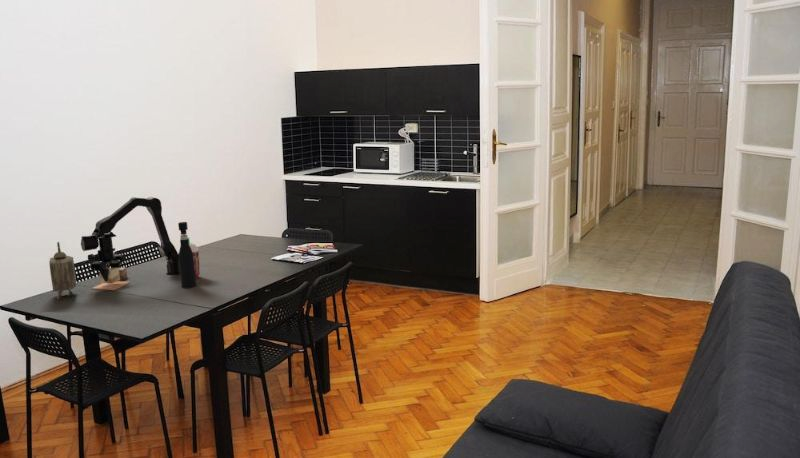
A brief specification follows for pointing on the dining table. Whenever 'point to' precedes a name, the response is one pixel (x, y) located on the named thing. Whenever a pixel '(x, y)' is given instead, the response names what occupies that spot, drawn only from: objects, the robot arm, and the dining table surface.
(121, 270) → the walnut block
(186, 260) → the wine bottle
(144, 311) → the dining table surface
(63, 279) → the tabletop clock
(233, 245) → the dining table surface
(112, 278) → the maple block
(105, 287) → the terracotta tile
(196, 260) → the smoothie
